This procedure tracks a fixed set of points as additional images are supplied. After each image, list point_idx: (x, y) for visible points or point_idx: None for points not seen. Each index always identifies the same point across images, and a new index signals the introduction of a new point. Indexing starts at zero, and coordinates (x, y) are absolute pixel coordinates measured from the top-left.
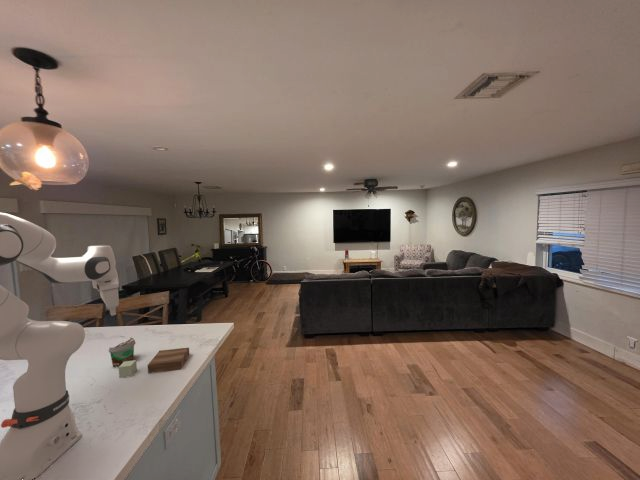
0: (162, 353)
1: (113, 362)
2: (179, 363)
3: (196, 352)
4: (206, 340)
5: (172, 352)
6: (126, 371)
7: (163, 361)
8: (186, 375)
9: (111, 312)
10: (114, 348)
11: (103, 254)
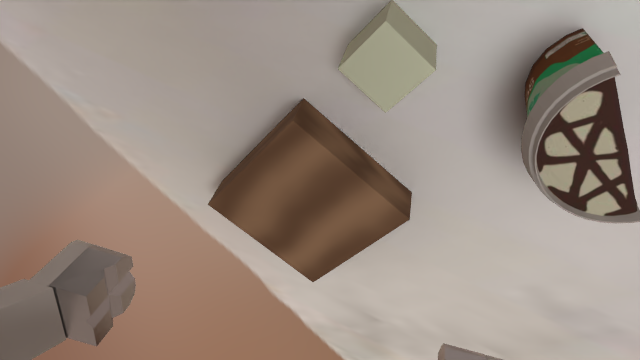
0: (360, 210)
1: (577, 41)
2: (214, 194)
3: None
4: (388, 344)
5: (327, 232)
6: (360, 38)
7: (266, 171)
8: (158, 165)
9: (42, 281)
10: (574, 91)
11: None
